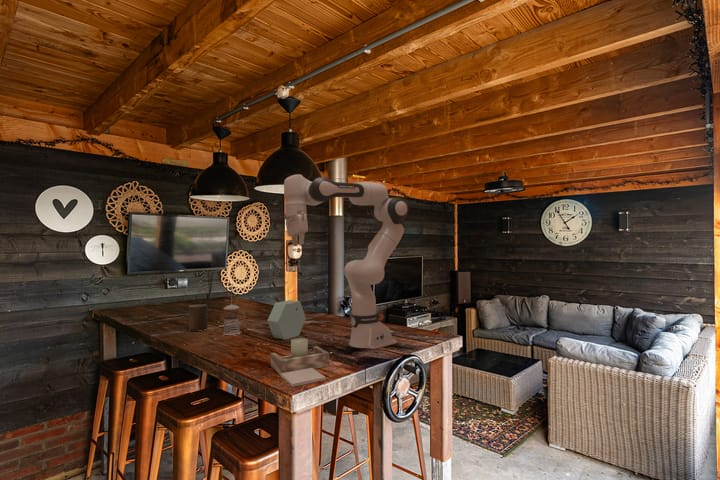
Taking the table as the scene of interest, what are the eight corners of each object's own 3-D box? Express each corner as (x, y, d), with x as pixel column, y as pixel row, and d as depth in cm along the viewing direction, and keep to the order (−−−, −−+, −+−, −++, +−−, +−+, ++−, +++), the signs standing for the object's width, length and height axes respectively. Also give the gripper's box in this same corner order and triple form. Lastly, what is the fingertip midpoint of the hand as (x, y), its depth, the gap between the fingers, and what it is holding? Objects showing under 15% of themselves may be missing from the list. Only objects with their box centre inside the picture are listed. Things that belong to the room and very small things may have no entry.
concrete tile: (312, 370, 143) (312, 367, 143) (325, 380, 132) (325, 377, 132) (280, 376, 137) (280, 373, 137) (292, 386, 126) (292, 383, 127)
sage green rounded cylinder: (304, 362, 153) (304, 337, 153) (310, 366, 147) (310, 340, 147) (288, 365, 149) (288, 339, 150) (294, 369, 144) (294, 342, 144)
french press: (222, 332, 208) (222, 285, 208) (245, 330, 211) (244, 285, 211) (221, 336, 198) (220, 287, 198) (244, 334, 201) (244, 286, 202)
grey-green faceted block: (284, 343, 200) (299, 307, 209) (294, 345, 195) (309, 308, 205) (262, 331, 188) (279, 293, 198) (273, 332, 184) (290, 293, 193)
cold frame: (316, 358, 158) (316, 346, 158) (329, 366, 148) (329, 353, 148) (270, 366, 148) (270, 353, 148) (280, 375, 138) (280, 361, 138)
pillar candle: (206, 331, 211) (205, 303, 211) (186, 332, 208) (186, 304, 209) (208, 327, 220) (208, 301, 220) (190, 328, 218) (190, 302, 218)
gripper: (310, 208, 155) (313, 242, 154) (297, 215, 174) (299, 246, 173) (295, 209, 152) (297, 243, 152) (283, 216, 171) (285, 247, 170)
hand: (298, 245), depth 162 cm, fingers open, 8 cm apart
